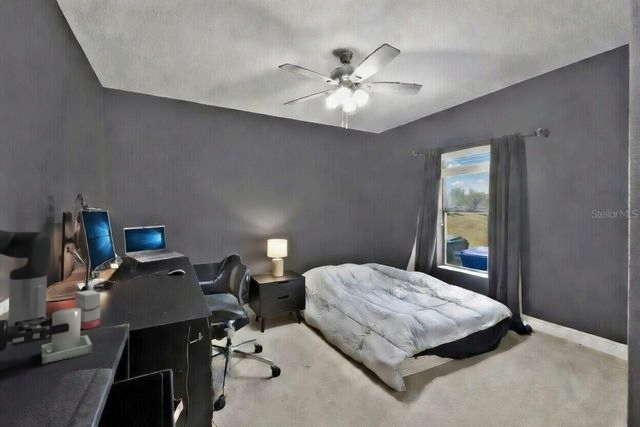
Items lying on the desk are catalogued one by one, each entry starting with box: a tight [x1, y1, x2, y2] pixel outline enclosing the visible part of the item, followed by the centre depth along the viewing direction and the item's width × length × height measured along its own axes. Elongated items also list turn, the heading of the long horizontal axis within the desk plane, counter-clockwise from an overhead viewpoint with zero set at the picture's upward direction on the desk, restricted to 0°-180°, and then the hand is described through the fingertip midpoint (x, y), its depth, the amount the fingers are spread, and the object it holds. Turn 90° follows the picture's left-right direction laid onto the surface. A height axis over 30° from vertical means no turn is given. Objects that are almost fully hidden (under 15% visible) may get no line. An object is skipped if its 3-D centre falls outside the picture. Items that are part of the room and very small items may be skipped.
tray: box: [41, 334, 93, 365], centre depth 80 cm, size 10×10×2 cm
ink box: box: [74, 289, 101, 330], centre depth 101 cm, size 9×5×12 cm, turn 58°
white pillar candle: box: [51, 307, 81, 354], centre depth 80 cm, size 6×6×11 cm
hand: (67, 323), depth 80 cm, fingers open, 8 cm apart
